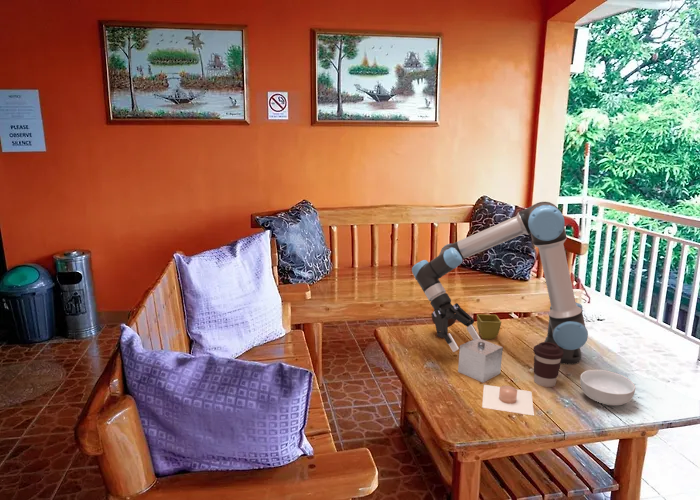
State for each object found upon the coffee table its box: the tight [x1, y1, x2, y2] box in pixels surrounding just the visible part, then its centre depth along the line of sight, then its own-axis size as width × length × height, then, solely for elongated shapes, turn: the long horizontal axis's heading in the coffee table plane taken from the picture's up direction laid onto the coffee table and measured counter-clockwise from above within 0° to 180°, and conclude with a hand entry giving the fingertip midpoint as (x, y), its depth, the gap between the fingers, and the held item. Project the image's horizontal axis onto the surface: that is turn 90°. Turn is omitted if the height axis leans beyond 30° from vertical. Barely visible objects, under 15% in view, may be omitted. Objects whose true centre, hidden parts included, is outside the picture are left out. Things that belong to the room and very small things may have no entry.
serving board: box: [481, 384, 535, 416], centre depth 173 cm, size 16×16×1 cm
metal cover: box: [457, 338, 504, 384], centre depth 190 cm, size 11×11×12 cm
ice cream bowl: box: [430, 309, 457, 340], centre depth 225 cm, size 11×11×15 cm
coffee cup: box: [532, 341, 564, 388], centre depth 184 cm, size 10×10×15 cm
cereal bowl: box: [579, 369, 636, 406], centre depth 175 cm, size 17×17×7 cm
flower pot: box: [476, 313, 502, 340], centre depth 226 cm, size 9×9×9 cm
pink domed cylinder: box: [499, 385, 517, 404], centre depth 173 cm, size 6×6×4 cm
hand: (467, 345), depth 193 cm, fingers open, 13 cm apart
